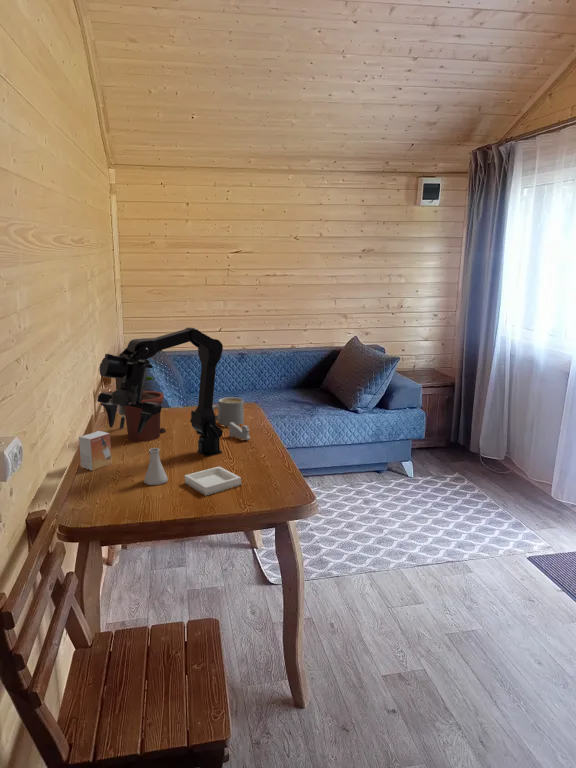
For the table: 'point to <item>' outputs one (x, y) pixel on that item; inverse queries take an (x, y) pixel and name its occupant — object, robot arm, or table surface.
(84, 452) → the small box
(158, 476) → the flask
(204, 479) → the shaker caddy
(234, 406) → the coffee mug
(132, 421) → the potted plant
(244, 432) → the grey tape dispenser
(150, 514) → the table surface
